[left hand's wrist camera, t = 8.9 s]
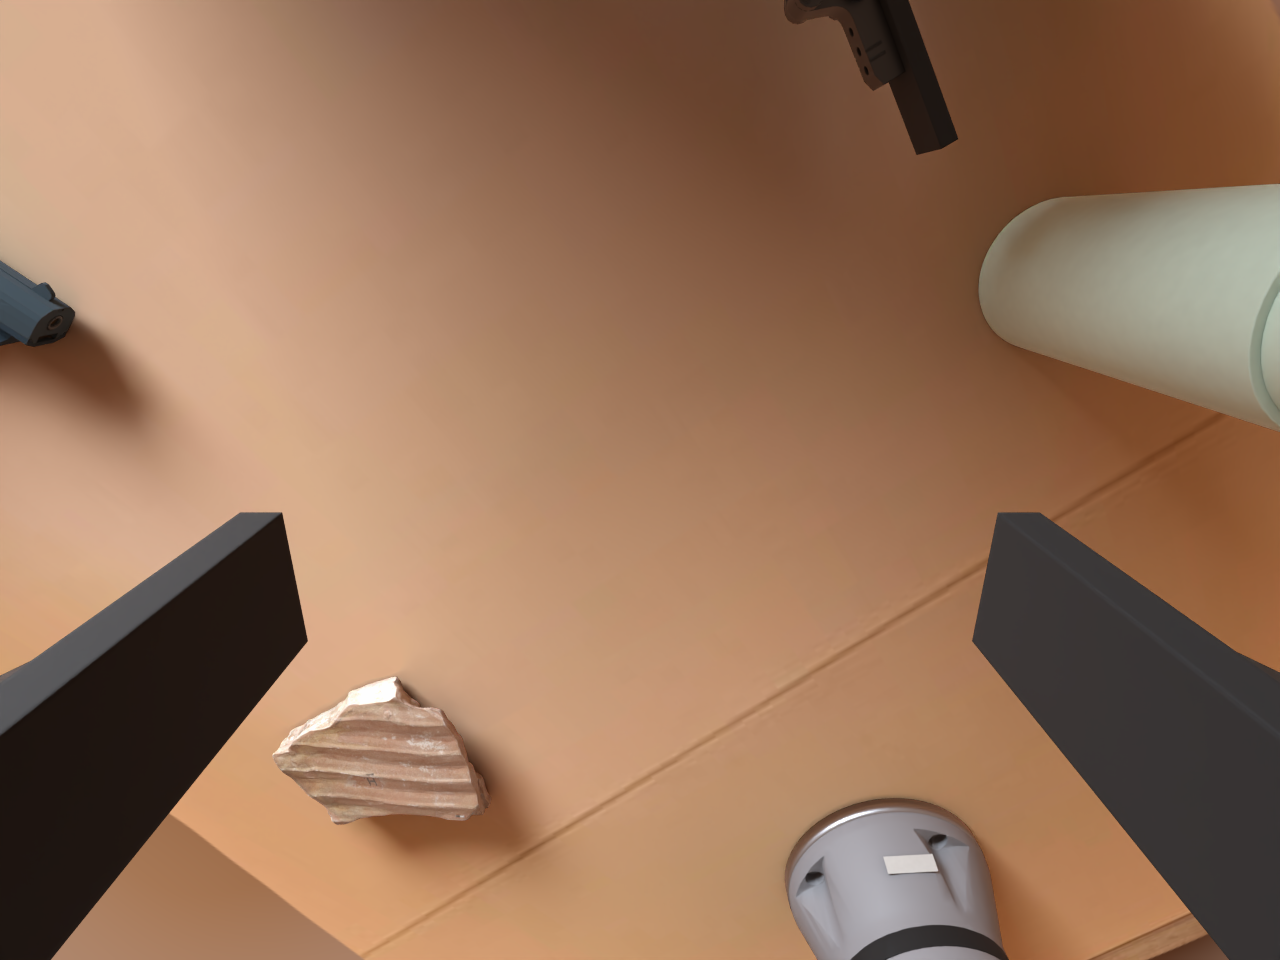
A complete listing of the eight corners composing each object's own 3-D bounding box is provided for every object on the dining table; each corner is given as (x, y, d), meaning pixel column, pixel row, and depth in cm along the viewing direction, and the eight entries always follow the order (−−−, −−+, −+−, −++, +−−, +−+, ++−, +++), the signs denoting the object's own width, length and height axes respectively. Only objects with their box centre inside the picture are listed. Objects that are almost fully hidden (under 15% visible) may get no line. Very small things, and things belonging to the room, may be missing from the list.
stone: (446, 666, 46) (435, 690, 44) (496, 797, 51) (488, 825, 48) (271, 698, 48) (251, 723, 45) (334, 823, 52) (319, 852, 49)
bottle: (983, 206, 36) (1536, 179, 14) (1138, 188, 36) (1960, 129, 14) (973, 356, 39) (1420, 535, 17) (1117, 341, 39) (1766, 501, 16)
